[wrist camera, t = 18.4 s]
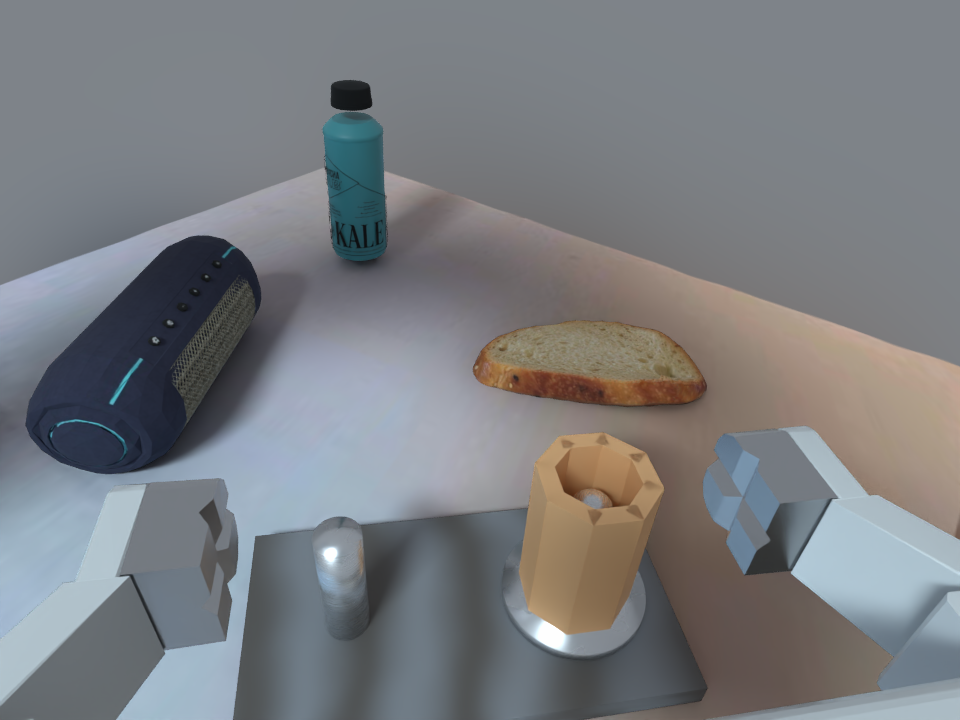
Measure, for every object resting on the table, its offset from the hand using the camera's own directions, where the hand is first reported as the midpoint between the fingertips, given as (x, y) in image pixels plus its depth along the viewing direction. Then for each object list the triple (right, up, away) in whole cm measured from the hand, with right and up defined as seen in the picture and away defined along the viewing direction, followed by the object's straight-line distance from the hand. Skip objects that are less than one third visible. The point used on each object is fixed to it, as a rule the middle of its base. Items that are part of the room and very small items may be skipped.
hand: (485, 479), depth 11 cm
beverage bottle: (-14, +14, +67) cm, 70 cm away
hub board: (-1, -14, +30) cm, 34 cm away
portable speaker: (-27, -1, +47) cm, 54 cm away
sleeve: (+6, -12, +30) cm, 33 cm away
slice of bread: (+10, 0, +52) cm, 53 cm away
